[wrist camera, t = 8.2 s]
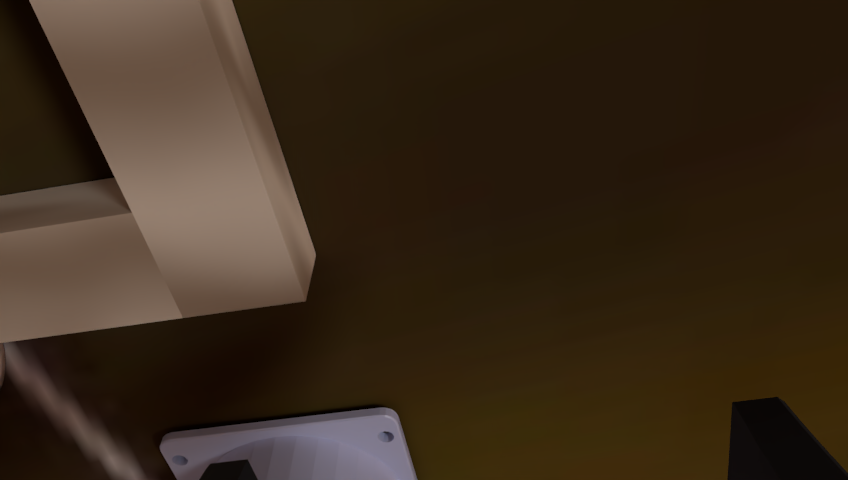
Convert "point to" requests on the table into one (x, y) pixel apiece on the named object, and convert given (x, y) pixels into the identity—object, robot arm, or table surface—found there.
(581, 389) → the table surface
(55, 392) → the table surface
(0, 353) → the coaster
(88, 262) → the board
